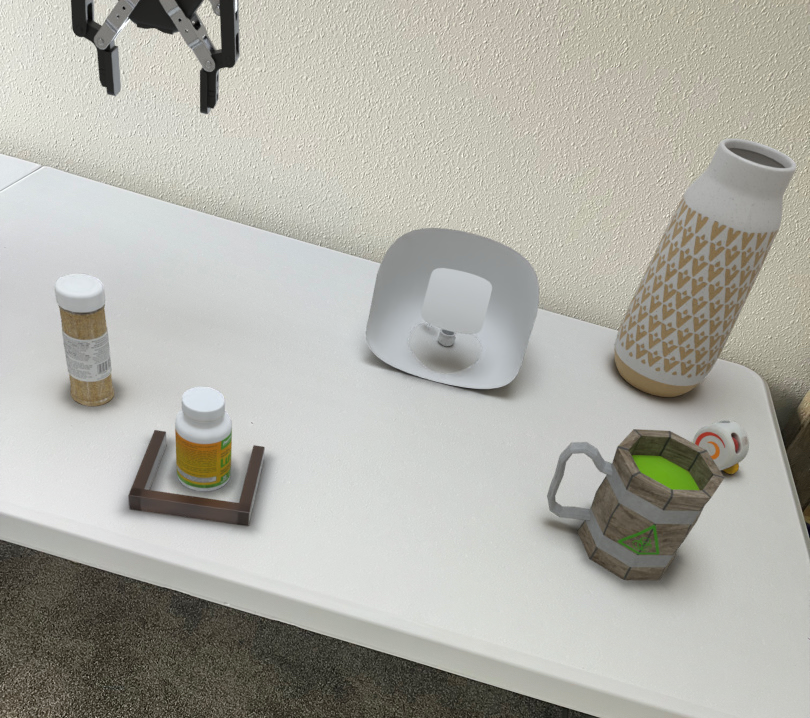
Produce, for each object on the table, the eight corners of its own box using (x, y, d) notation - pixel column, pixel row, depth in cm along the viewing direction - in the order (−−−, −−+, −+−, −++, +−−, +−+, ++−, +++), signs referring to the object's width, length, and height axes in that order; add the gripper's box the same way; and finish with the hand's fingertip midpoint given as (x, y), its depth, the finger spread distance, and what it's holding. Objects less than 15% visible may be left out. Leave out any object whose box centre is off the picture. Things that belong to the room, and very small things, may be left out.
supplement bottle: (228, 495, 79) (230, 419, 72) (173, 491, 78) (170, 413, 71) (232, 460, 83) (234, 384, 76) (179, 456, 82) (177, 378, 75)
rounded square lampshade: (520, 329, 114) (545, 252, 105) (510, 402, 100) (537, 320, 92) (387, 294, 114) (401, 214, 105) (358, 363, 100) (372, 277, 92)
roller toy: (703, 443, 101) (724, 407, 97) (741, 474, 98) (764, 438, 94) (681, 452, 99) (702, 415, 95) (719, 483, 96) (742, 446, 92)
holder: (129, 510, 75) (128, 495, 74) (155, 444, 82) (154, 429, 81) (248, 527, 76) (249, 512, 75) (263, 460, 84) (264, 446, 82)
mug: (672, 527, 88) (721, 445, 80) (674, 596, 81) (728, 513, 72) (538, 488, 89) (573, 402, 80) (527, 552, 81) (565, 465, 73)
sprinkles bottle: (95, 378, 88) (82, 267, 79) (123, 397, 87) (114, 286, 77) (61, 394, 85) (43, 280, 76) (89, 413, 84) (75, 300, 74)
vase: (587, 350, 113) (678, 125, 91) (666, 349, 117) (769, 134, 96) (634, 409, 104) (746, 175, 83) (716, 404, 109) (842, 182, 87)
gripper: (249, -102, 66) (242, 105, 77) (75, -143, 64) (94, 75, 76) (233, -89, 61) (228, 131, 72) (44, -134, 59) (69, 99, 70)
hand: (160, 102), depth 74 cm, fingers open, 8 cm apart
